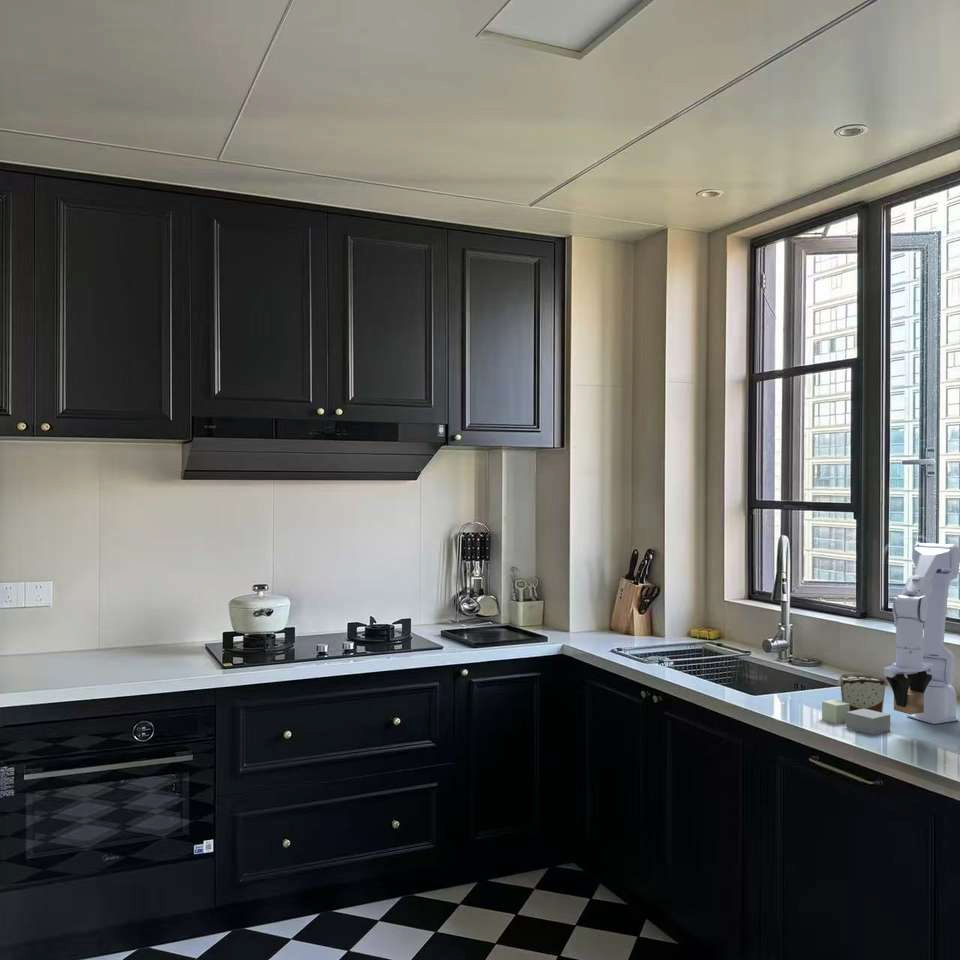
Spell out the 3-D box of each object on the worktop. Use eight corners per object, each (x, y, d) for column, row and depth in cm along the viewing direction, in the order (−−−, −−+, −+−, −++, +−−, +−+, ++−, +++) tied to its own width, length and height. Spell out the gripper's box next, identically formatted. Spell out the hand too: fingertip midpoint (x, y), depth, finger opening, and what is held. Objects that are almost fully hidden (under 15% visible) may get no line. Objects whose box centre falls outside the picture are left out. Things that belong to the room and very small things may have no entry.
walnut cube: (907, 708, 216) (907, 689, 216) (923, 712, 212) (923, 693, 212) (893, 709, 214) (893, 690, 214) (910, 714, 210) (910, 695, 210)
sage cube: (835, 717, 229) (835, 699, 229) (849, 721, 225) (849, 703, 225) (821, 719, 227) (822, 701, 227) (836, 723, 223) (836, 705, 223)
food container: (876, 711, 235) (876, 672, 235) (887, 717, 229) (888, 677, 229) (829, 711, 235) (829, 672, 235) (839, 717, 229) (839, 677, 229)
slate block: (863, 724, 223) (863, 708, 223) (890, 731, 217) (890, 714, 217) (846, 728, 219) (846, 712, 219) (872, 735, 213) (872, 718, 213)
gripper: (916, 641, 219) (915, 698, 220) (873, 646, 213) (872, 704, 213) (942, 647, 213) (941, 704, 213) (898, 651, 207) (898, 711, 207)
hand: (908, 705), depth 213 cm, fingers closed on walnut cube, 4 cm apart
